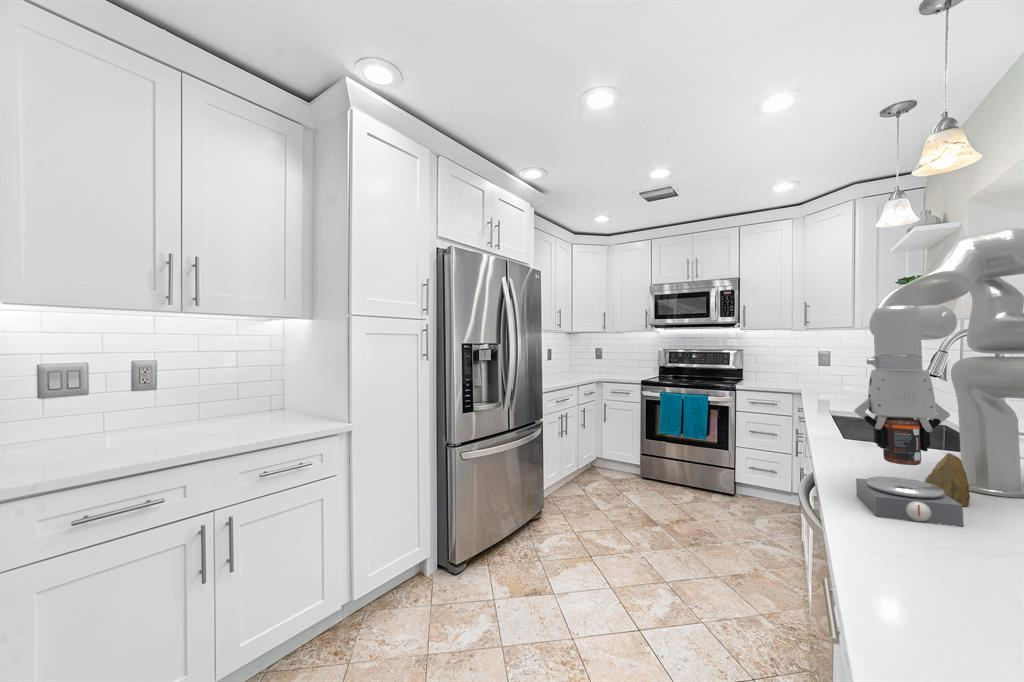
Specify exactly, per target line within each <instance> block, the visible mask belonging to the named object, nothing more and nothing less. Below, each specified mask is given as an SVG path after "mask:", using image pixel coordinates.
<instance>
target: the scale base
mask: <svg viewBox="0 0 1024 682" xmlns="http://www.w3.org/2000/svg"><path fill="white" fill-rule="evenodd" d="M867 479H868V478H860V477H859V478H857V477H856V478H855V483H856V484H855V487H856V497H858V498H859V500H860V501H861V502H862V503H863V504H864V505H865V506H866V507H867V508H868V509H869V510H870V511H871V513H872V514H874V515H875V516H876V518H885V519H886V518H887V519H893V520H902V519H903V521H910V520H912V521H911V522H913V521H914V522H919V521H922V522H921V523H927V522H933V523H932V524H936V523H941V524H940V525H944V524H947V525H946V526H953V525H955V527H961V528H962V527H963V528H964V511H963V507H964V506H963V505H961V504H959V503H958V502H956V501H955V500H953V499H952V498H950V497H948V496H947V495H945V494H944V496H942V497H938V498H918V497H909V496H902V495H897V494H892V493H887V492H883V491H880V490H877V489H874V488H872V487H870V486H868V485H867Z"/></svg>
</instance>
